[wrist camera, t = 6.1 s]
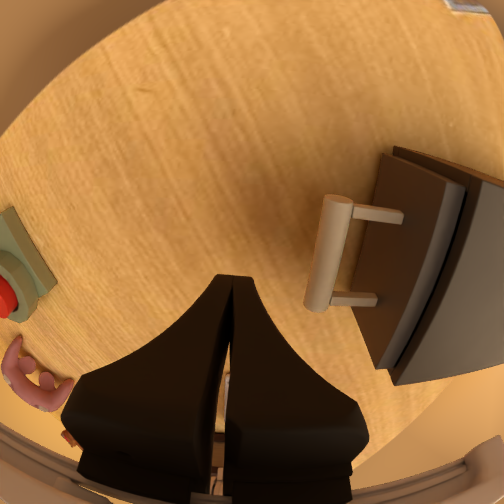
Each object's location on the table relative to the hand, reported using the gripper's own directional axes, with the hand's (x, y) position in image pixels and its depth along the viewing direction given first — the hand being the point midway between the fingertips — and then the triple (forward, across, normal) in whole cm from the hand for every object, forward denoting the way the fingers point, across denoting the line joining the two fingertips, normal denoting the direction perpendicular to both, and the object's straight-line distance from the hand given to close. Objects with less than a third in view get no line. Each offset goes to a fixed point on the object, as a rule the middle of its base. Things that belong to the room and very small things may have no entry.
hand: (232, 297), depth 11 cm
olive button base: (+8, +23, +6) cm, 25 cm away
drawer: (+7, -12, 0) cm, 14 cm away
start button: (+5, +21, +7) cm, 22 cm away
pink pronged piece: (+9, +24, +21) cm, 33 cm away
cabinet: (+8, -15, 0) cm, 18 cm away
